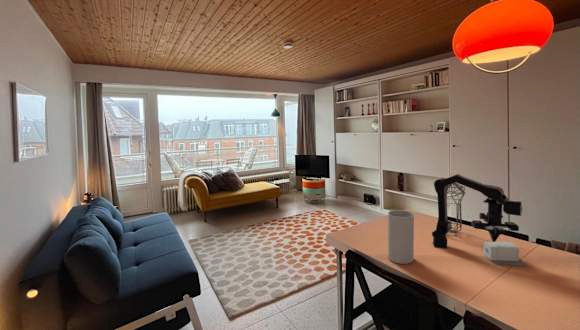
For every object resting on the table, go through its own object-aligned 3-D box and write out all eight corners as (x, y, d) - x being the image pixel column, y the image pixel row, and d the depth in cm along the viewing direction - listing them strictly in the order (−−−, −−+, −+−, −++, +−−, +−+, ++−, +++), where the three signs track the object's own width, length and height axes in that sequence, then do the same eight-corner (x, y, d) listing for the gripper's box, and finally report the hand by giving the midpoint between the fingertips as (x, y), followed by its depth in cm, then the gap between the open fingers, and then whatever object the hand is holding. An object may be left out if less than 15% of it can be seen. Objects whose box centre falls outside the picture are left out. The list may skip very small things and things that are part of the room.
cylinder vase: (402, 267, 137) (402, 218, 134) (383, 257, 148) (382, 212, 145) (418, 260, 143) (419, 214, 140) (399, 251, 154) (399, 208, 151)
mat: (495, 264, 135) (495, 262, 135) (486, 254, 146) (486, 253, 146) (526, 266, 132) (526, 265, 131) (515, 256, 142) (515, 255, 142)
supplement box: (490, 260, 138) (519, 261, 135) (490, 246, 137) (519, 247, 134) (483, 254, 145) (510, 255, 142) (483, 241, 144) (510, 241, 142)
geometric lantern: (463, 231, 179) (465, 179, 174) (463, 240, 166) (465, 184, 161) (436, 227, 188) (437, 177, 183) (434, 235, 175) (435, 182, 169)
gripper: (509, 208, 142) (507, 236, 144) (468, 206, 148) (467, 234, 150) (520, 214, 132) (518, 245, 134) (475, 213, 137) (474, 242, 139)
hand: (493, 241), depth 139 cm, fingers closed
